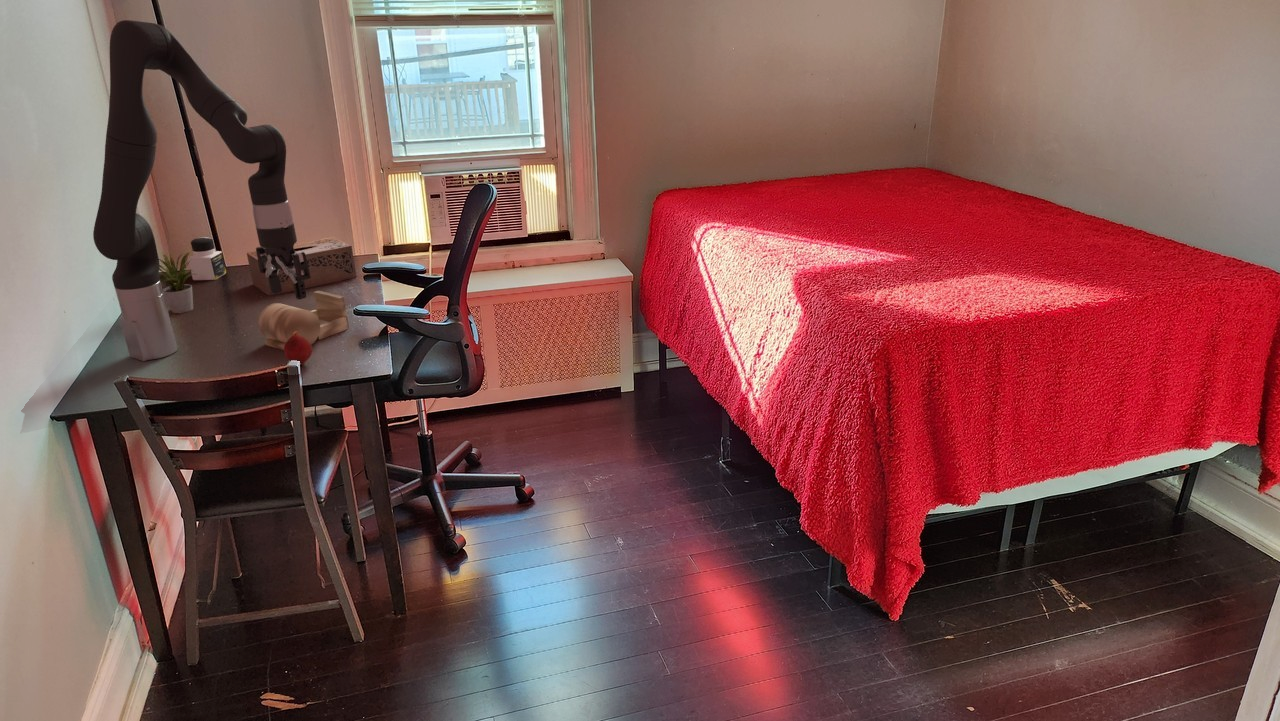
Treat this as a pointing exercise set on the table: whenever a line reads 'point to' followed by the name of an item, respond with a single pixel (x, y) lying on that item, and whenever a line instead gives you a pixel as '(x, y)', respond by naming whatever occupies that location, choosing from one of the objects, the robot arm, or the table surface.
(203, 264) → the medicine bottle
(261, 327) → the roller
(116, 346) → the table surface
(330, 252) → the tissue box cover
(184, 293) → the house plant
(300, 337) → the onion
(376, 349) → the table surface
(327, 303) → the pit walls
